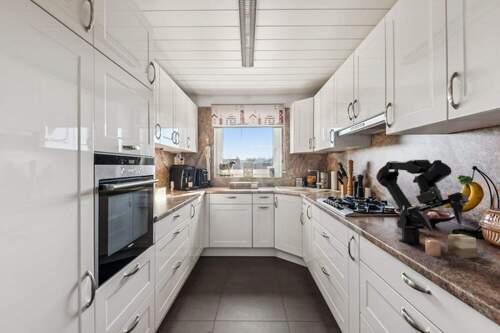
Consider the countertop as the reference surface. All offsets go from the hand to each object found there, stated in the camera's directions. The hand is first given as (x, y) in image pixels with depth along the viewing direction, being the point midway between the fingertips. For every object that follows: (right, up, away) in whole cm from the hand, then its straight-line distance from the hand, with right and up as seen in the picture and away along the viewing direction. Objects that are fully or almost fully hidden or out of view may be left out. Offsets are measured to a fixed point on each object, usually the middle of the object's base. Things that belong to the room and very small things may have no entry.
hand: (445, 228), depth 89 cm
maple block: (+9, -8, +4) cm, 13 cm away
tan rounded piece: (-1, -11, +5) cm, 12 cm away
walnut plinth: (+10, -11, +4) cm, 15 cm away
